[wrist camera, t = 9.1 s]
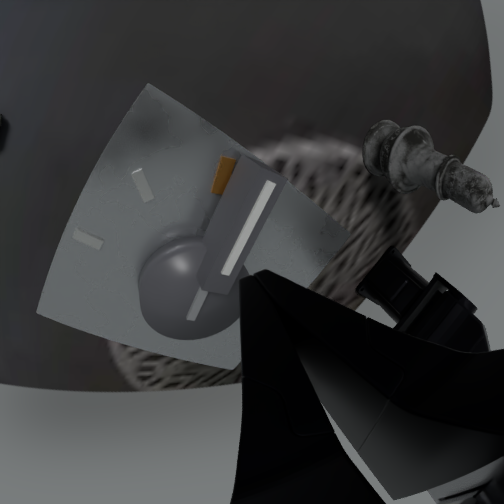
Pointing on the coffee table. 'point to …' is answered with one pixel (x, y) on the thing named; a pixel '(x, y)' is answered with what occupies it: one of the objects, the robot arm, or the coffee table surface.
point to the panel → (168, 228)
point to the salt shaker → (423, 166)
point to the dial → (209, 260)
